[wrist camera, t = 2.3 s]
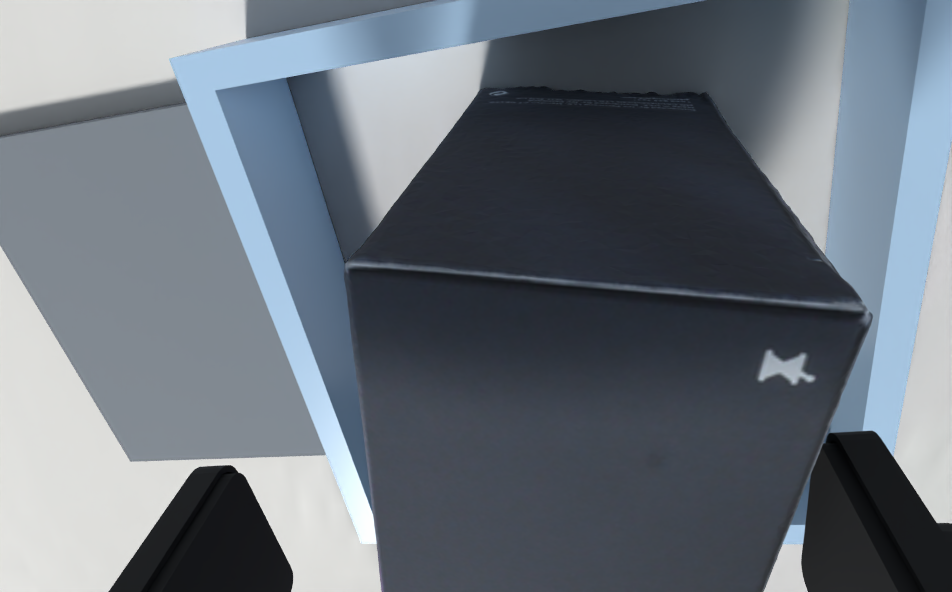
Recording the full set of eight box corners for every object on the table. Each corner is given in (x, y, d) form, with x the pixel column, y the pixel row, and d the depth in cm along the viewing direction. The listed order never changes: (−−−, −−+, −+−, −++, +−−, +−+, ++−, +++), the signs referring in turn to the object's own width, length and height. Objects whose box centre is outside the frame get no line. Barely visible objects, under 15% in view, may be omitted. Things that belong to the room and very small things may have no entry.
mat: (208, 98, 17) (196, 102, 17) (339, 443, 23) (333, 454, 23) (-41, 143, 19) (-58, 148, 19) (139, 451, 25) (130, 461, 25)
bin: (899, -94, 13) (997, -108, 10) (832, 455, 20) (876, 544, 17) (245, 38, 16) (168, 59, 13) (389, 467, 23) (361, 543, 20)
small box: (462, 80, 16) (309, 247, 7) (718, 89, 15) (921, 292, 6) (463, 395, 21) (376, 722, 12) (654, 414, 20) (712, 781, 11)
